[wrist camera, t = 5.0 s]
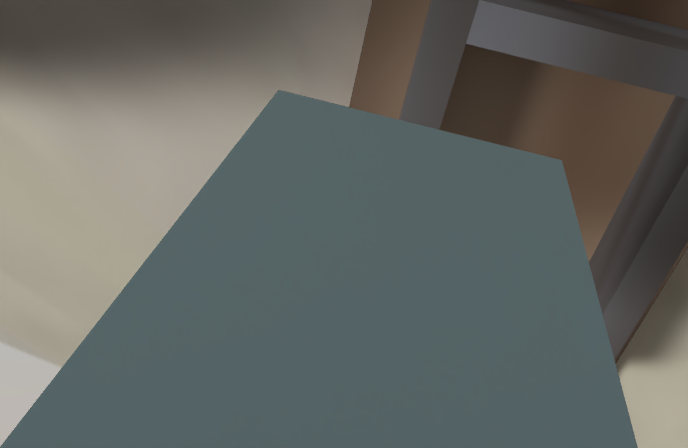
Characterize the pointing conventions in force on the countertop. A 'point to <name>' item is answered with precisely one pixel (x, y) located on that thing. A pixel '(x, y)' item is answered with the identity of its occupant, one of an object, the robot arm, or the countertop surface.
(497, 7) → the socket board
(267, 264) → the cabinet block
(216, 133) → the countertop surface
